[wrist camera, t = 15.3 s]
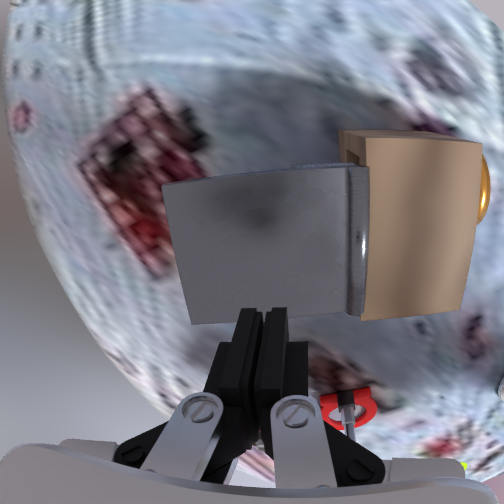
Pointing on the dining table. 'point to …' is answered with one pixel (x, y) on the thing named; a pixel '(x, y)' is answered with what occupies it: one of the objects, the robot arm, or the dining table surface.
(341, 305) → the grey flat plate
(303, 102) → the dining table surface
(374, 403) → the tow hook
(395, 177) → the block
